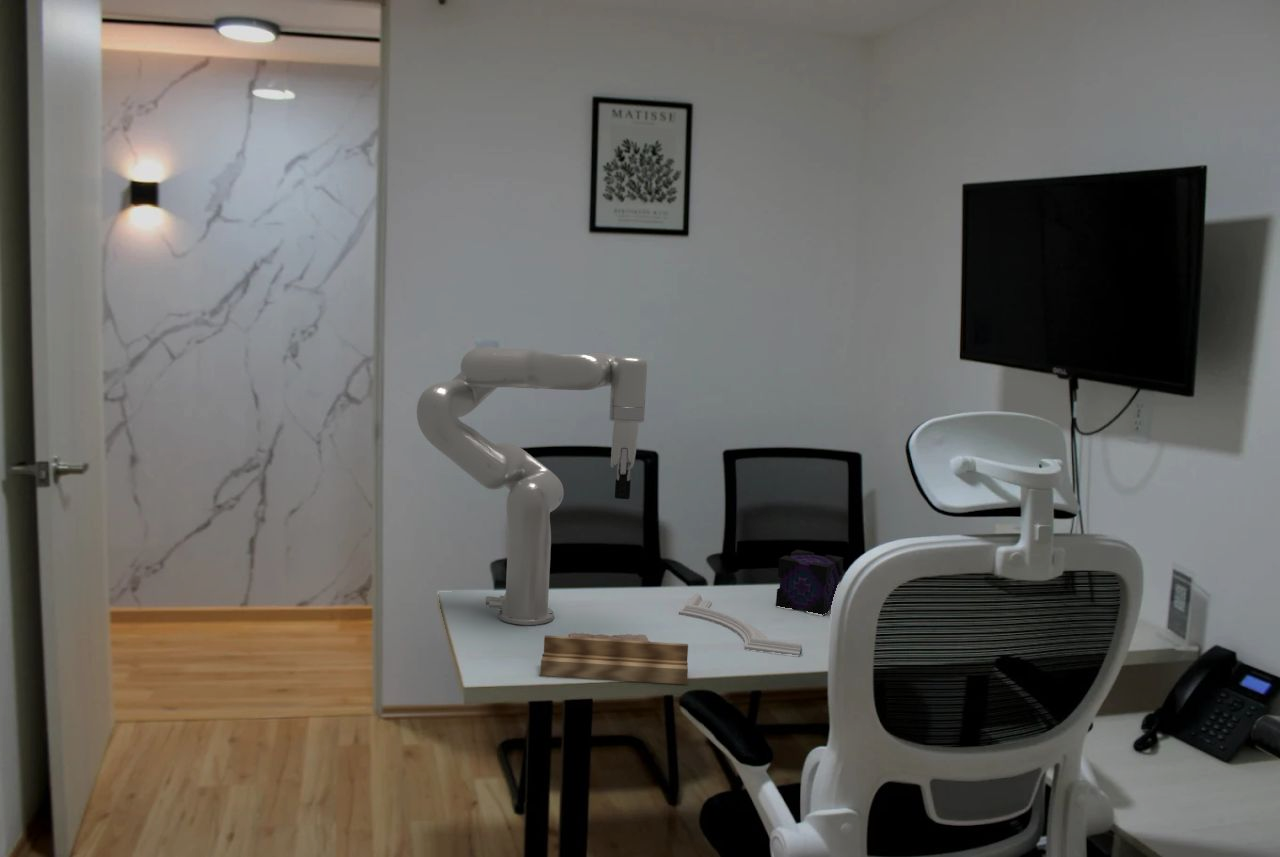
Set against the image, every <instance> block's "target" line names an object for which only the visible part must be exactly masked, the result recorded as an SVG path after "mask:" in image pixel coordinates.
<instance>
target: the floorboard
mask: <svg viewBox="0 0 1280 857" xmlns="http://www.w3.org/2000/svg"><path fill="white" fill-rule="evenodd" d="M688 652H689V644H688V643H677V642H675V643H674V642H663V641H662V642H658V641H650V642H646V641H630V640H613V639H597V638H580V637H569V636H562V635H561V636H560V635H559V636H558V635H546V634H545V635H544V640H543V653H542V657H541V660H540V676H542V677H544V676H545V677H559V678H561V677H562V678H574V679H577V678H578V679H589V680H591V679H594V680H605V681H606V680H609V681H610V680H611V681H626V682H637V683H638V682H640V683H641V682H642V683H653V684H654V683H658V684H672V685H673V684H676V685H688V674H689V672H688V670H689V667H688V665H689V664H688V656H689V655H688Z"/></svg>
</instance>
